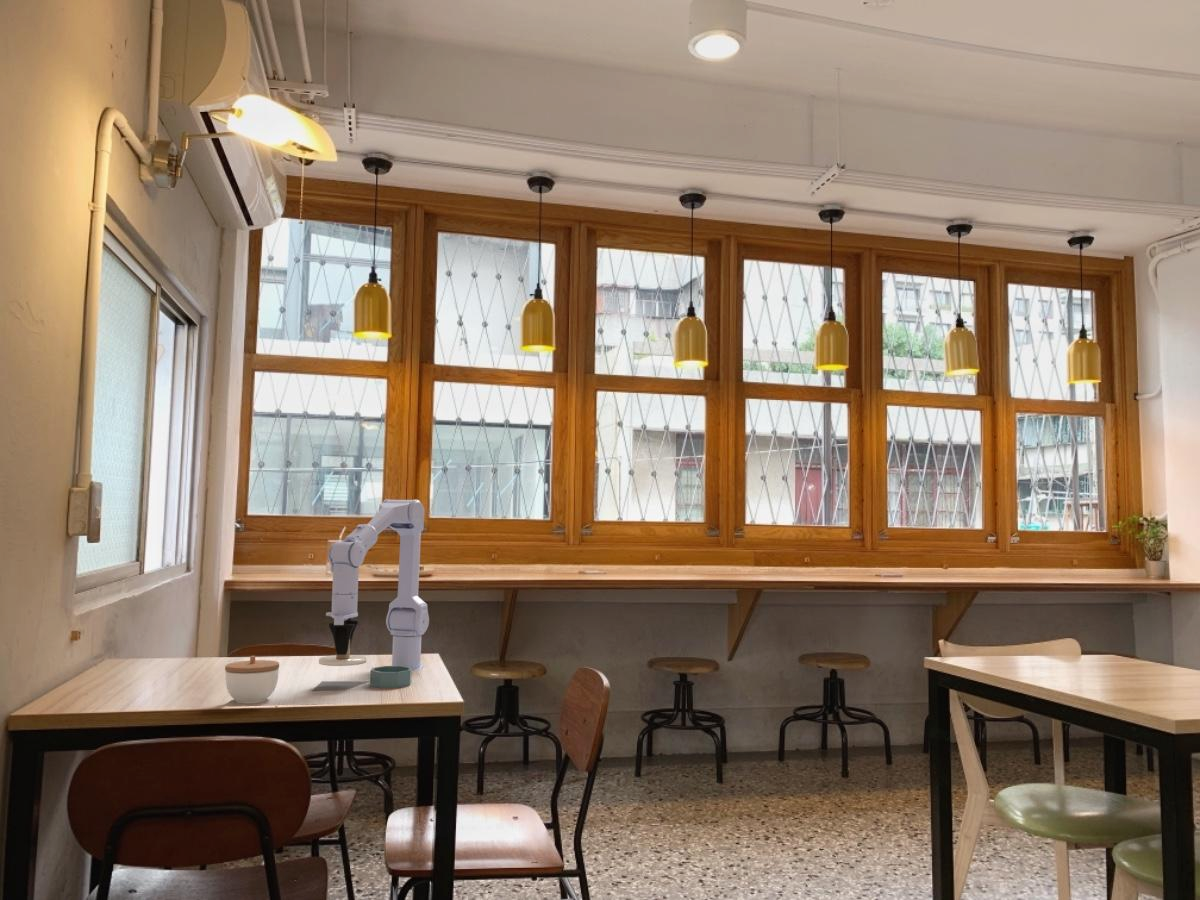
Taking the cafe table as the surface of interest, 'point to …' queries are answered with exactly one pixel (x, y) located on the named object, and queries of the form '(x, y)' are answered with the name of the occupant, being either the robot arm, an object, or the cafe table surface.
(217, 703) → the cafe table surface
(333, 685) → the mat
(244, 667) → the lidded jar
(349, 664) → the lid
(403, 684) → the bowl
